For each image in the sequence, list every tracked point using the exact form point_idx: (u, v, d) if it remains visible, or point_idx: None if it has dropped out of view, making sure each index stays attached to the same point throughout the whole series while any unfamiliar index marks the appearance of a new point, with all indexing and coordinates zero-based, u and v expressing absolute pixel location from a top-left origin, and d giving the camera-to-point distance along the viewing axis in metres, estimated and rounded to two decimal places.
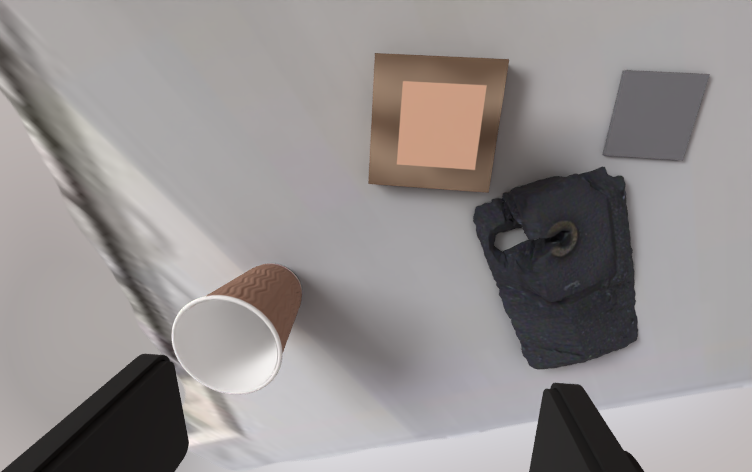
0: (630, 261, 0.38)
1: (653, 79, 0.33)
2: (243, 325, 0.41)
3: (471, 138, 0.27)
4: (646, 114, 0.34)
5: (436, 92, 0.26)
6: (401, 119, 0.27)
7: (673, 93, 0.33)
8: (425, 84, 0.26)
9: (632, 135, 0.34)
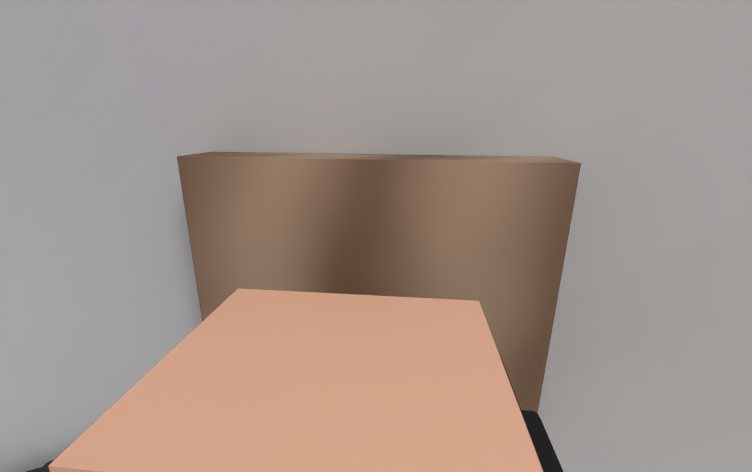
0: None
1: None
2: None
3: None
4: None
5: None
6: None
7: None
8: None
9: None
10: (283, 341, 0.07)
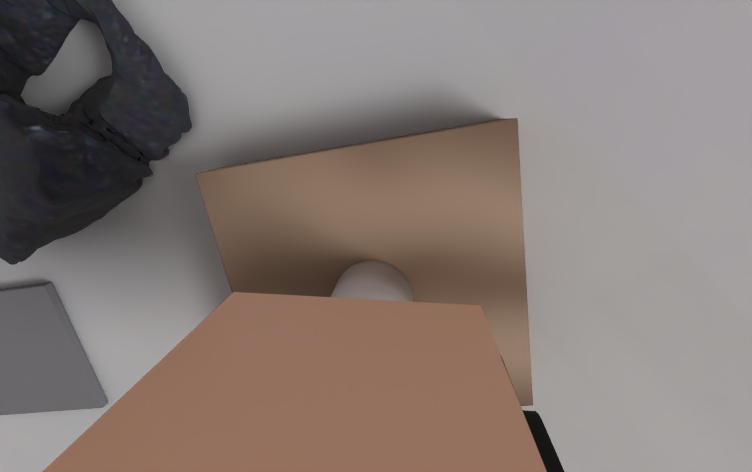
0: None
1: (57, 400, 0.20)
2: None
3: None
4: (31, 356, 0.20)
5: None
6: None
7: (19, 388, 0.20)
8: None
9: (27, 324, 0.19)
10: (280, 347, 0.07)
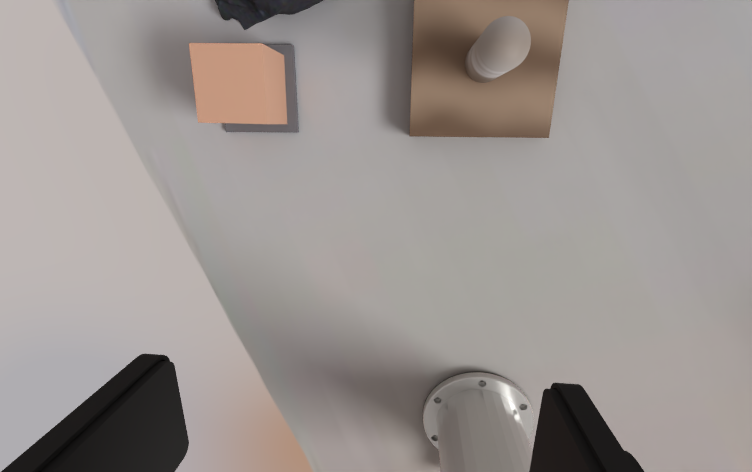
0: None
1: (270, 124, 0.35)
2: None
3: (223, 115, 0.30)
4: None
5: (256, 78, 0.29)
6: (229, 44, 0.28)
7: None
8: (261, 66, 0.28)
9: None
10: None
